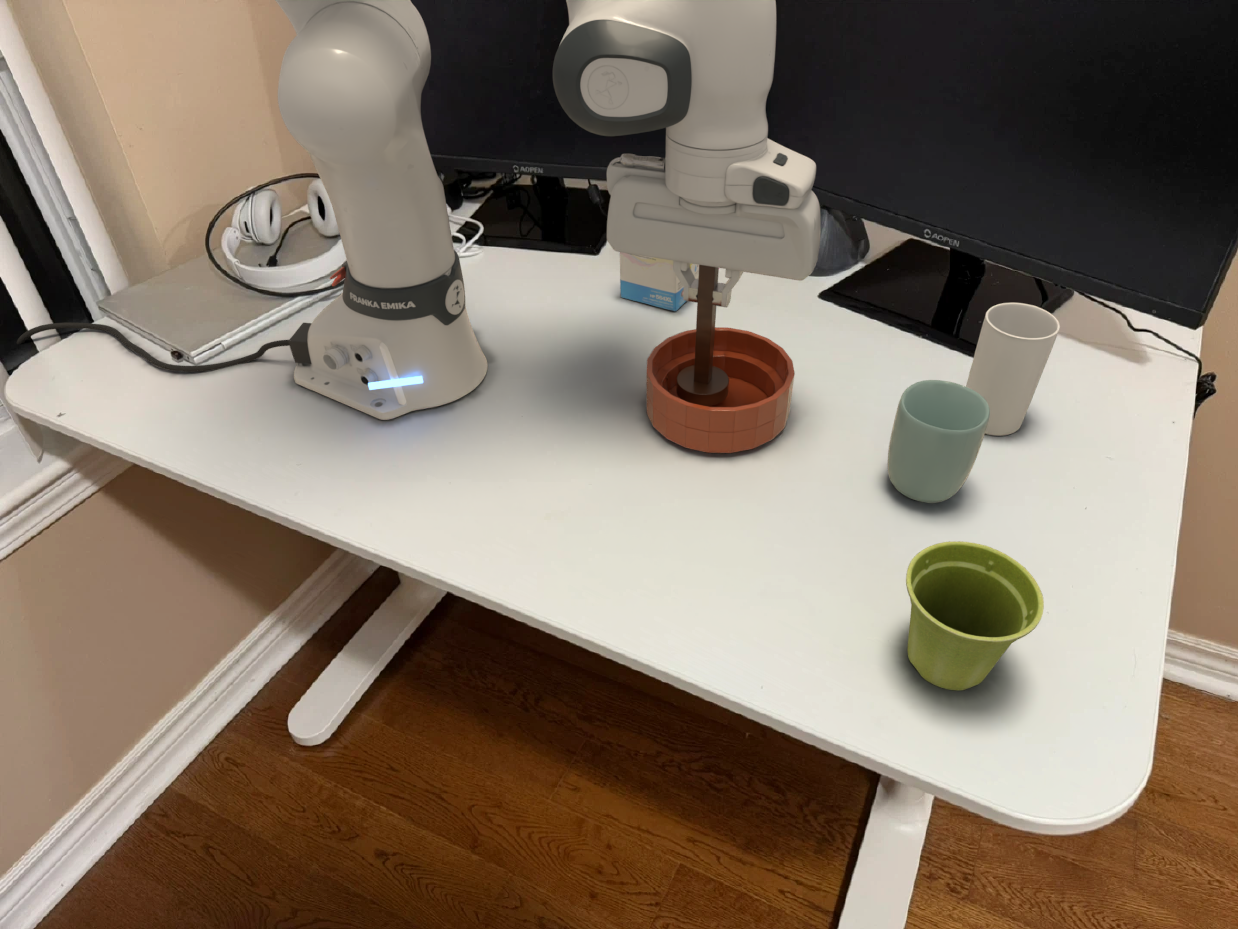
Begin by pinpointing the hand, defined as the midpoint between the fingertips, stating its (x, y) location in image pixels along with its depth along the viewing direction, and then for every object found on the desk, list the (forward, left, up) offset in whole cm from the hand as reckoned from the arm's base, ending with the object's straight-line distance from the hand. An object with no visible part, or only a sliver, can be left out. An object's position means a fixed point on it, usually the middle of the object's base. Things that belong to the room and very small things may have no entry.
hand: (707, 301), depth 84 cm
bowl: (+2, -1, -13) cm, 13 cm away
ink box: (-12, +22, -13) cm, 29 cm away
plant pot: (+28, -26, -13) cm, 40 cm away
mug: (+30, +9, -13) cm, 34 cm away
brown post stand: (0, 0, -11) cm, 11 cm away
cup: (+24, -6, -13) cm, 28 cm away
